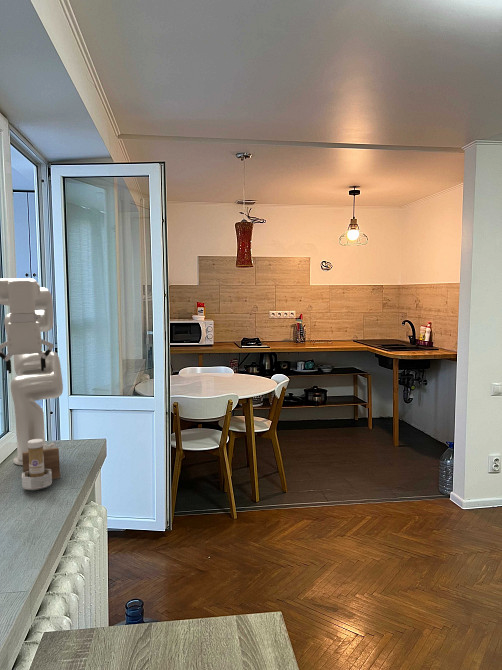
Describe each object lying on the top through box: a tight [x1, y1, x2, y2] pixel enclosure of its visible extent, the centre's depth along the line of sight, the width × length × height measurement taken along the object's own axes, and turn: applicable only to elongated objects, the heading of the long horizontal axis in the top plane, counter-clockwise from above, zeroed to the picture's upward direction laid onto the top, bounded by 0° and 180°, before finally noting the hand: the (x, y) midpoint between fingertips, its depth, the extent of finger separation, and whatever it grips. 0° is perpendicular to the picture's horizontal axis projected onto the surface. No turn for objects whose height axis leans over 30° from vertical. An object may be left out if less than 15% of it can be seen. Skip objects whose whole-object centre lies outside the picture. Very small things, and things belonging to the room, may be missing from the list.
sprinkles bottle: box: [27, 439, 45, 477], centre depth 165 cm, size 5×5×14 cm
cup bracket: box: [21, 468, 53, 491], centre depth 166 cm, size 11×9×6 cm
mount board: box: [22, 446, 61, 480], centre depth 174 cm, size 6×11×10 cm, turn 113°
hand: (26, 371), depth 169 cm, fingers open, 9 cm apart
